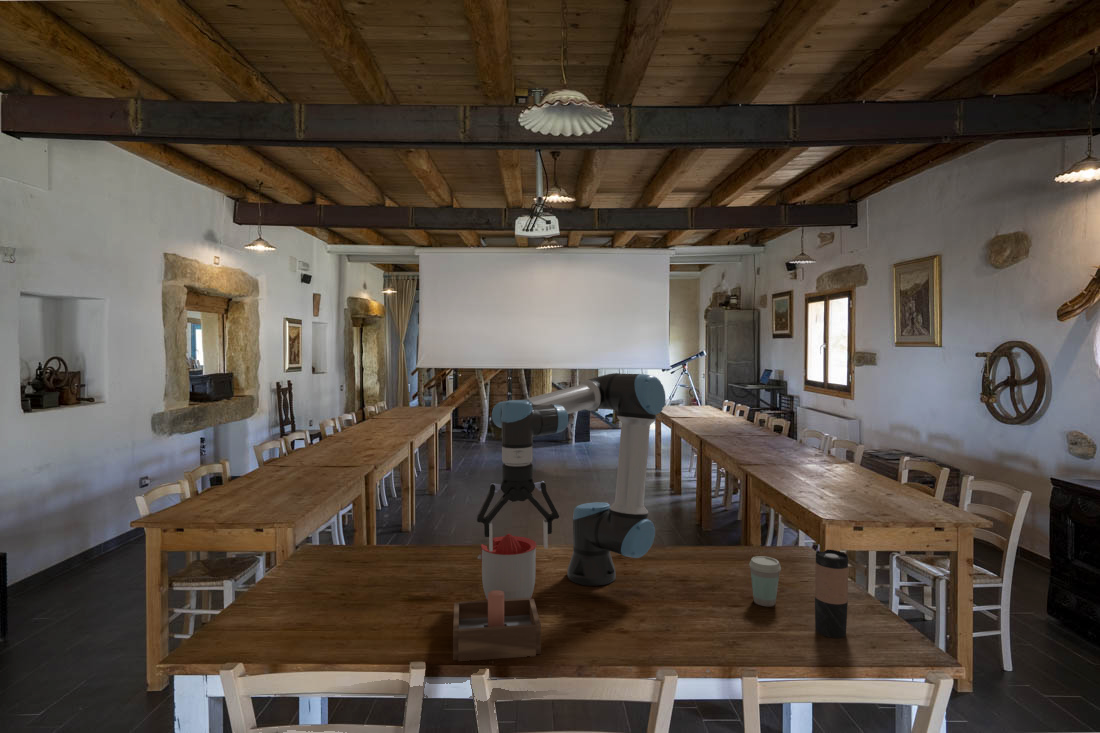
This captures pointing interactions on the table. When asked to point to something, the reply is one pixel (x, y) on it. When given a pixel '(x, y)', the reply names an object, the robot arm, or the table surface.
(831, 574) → the travel mug
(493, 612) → the peg
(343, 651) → the table surface
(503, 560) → the citrus juicer
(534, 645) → the open box
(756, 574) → the coffee cup
